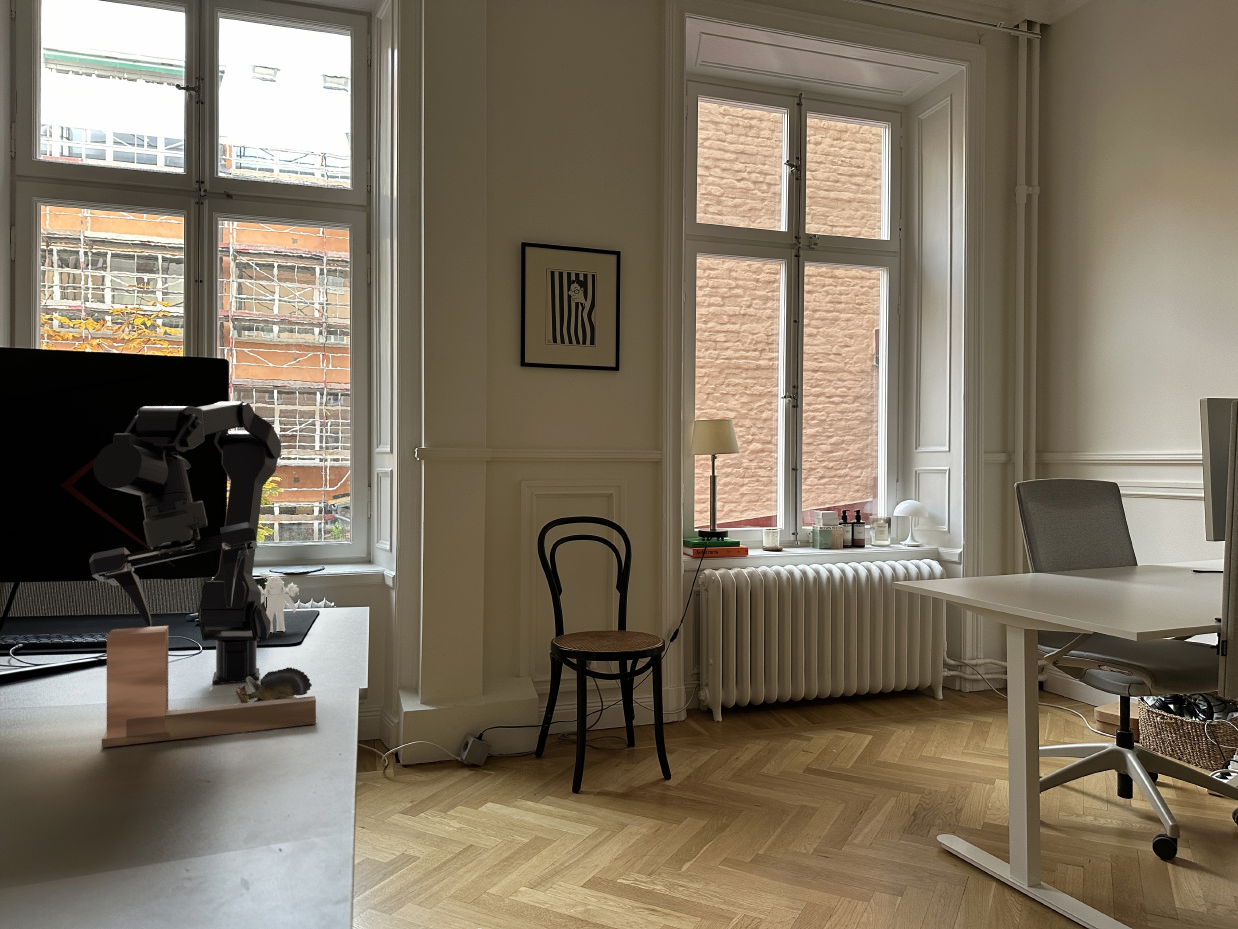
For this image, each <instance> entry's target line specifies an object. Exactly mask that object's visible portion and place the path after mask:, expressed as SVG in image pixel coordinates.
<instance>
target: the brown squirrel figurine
mask: <svg viewBox="0 0 1238 929" xmlns="http://www.w3.org/2000/svg"><path fill="white" fill-rule="evenodd" d="M310 681H311V679H310V678H309V677H308V675H307V674H306V673H305V672H304V671H302V670H300V669H298V668H295V667H293V668H292V667H286V668H282V669H277V670H275V671H274V670H272V671H268V672H267V673H265V674H264V675H263V676H262V678H261V679H260V681H259V683H258V682H257V680H254V679H253V678H252V677H247V678H246V681H245V682H247V684H248V687H249V688H250V689H251V690H252V691H253V692H251V693H248V691H247V687H246V685H245V684H244V685H241V687H240V686H238V687H237V688H238V689H235V693H236V694H235V695H236V696H237V698H238V700H239V702H240V703H249V701H250V700H254V699H255V700H254V701H253V702H260V701H270V700H280V699H290V698H298V697H297V696H305V695H307V694H308V691H310V690H311V688H312V686H313V685H312V683H311V682H310Z"/></svg>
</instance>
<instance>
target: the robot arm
mask: <svg viewBox="0 0 1238 929" xmlns="http://www.w3.org/2000/svg"><path fill="white" fill-rule="evenodd" d="M236 428H237V429H238V428H240V429H241V428H243V430H237V429H236ZM234 429H235V430H234ZM229 430H230V431H229ZM228 431H229V432H228ZM227 432H228V433H227ZM213 434H215V437H214V440H213V443H214V445H215V447H216V448H217V449H218V451H219V453H220V455H221V465H222V467H223V470H224V471H225V473H226V476H227V477H228V479H229V489H228V490H229V491H228V498H227V503H226V513H225V519H224V520H225V521H224V526H222V527H220V528H219V530H220V534H218V535H212V536H208V537H203V538H201V536H200V535H201V534H200V533H199V532H200V530H199V529H202V528H206V527H208V518H207V514H206V510H205V505H204V501H203V500H198V501H194V502H193V495H192V491H191V487H190V482H189V476H188V472H187V470H189V469H191V467H192V466H191V464H190V463H189V460H187V459H185V458H183V457H182V456H181V455H180V453H185V452H186V451H188V450H193V449H194V448H196V447H198V446H200V445H201V444H203V443H204V442H205V436H209V435H213ZM281 453H282V443H281V440H280V437H279V436H278V434H277V431H276V430H275V428H274V426H273V425H272V424H271V423H270V422H269V421H267V420H266V419H264V418H263V417H261V416H260V415H258V414H257V413H255V410H254V409H253V407H252V406H251V404H250V403H248V402H245V401H218V402H215V403H213V404H208V405H202V406H197V407H196V406H192V405H191V406H190V405H189V406H188V405H187V406H184V405H182V406H180V405H178V406H176V405H175V406H174V405H173V406H172V405H169V406H167V405H163V406H161V405H160V406H159V405H157V406H156V405H154V406H153V405H152V406H151V405H149V406H147V405H145V406H141V407H140V408H139V409H138V410H137V415H135V416H134V417H133V419H132V420H131V422H130V424H129V425H128V426H127V428H125V431H124V432H123V433H114V434H113V441H112V443H110V444H108V445H105V446H104V447H103V448H102V449H101V450H100V452H99V453H98V454H97V456H96V458H95V459H94V460H93V465H92V468H93V469H92V470H93V474H94V477H95V479H96V481H97V482H98V483H99V484H101V485H102V486H104V487H106V488H108V489H112V490H117V491H120V492H125V493H128V494H133V495H136V496H140V497H141V503H142V508H143V514H144V520H143V522H142V523H143V524H142V525H143V531H144V536H145V541H146V546H147V547H148V548H150V549H145V550H141V551H136V552H132V553H131V552H130V551H129V550H128V549H127V548H126V547H125V546H123V547H119V548H115V549H108V550H105V551H99V552H95V553H93V554H92V555H91V557H90V558H89V561H88V563H89V568H90V574H91V577H93V578H94V579H96V580H97V581H99V582H107V583H109V584H110V585H111V586H114V587H115V586H120V587H121V588H122V589H123V591H124V592H125V593H126V594H127V595H128V597H129V598H130V600H131V601H132V603H133V604H134V607H135V608H136V609H137V612H138V613H139V615H140V616H141V618H142V620H143V621H144V623H145V625H146V627H153V625H152V624H153V623H152V616H151V613H150V609H149V606H148V604H147V600H146V597H145V593H144V591H143V590H144V589H143V587H142V585H141V581H140V578H139V576H138V575H137V574H136V573H134V571H135V568H140V567H143V566H148V565H153V564H158V563H163V562H167V561H171V560H176V559H181V558H185V557H190V556H195V555H199V554H204V553H209V552H215V551H219V550H220V558H219V565H218V566H219V568H218V571H217V573H216V574H215V576H214V577H213V578H212V580H209V581H208V580H207V581H206V580H205V582H204V584H203V585H202V588H201V598H200V603H199V606H198V610H197V619H198V624H199V628H200V629H199V630H200V634H201V638H202V642H208V641H215V642H216V643H215V647H216V648H215V656H216V657H215V658H216V659H215V660H216V661H215V663H216V664H215V671H214V672H213V676H212V681H211V682H212V685H213V684H215V685H217V684H228V683H238V682H240V683H241V682H247V681H246V678H247V677H252V678H253V679H254V680H255V681H257V680H258V681H259V680H260V667H257V642H258V641H260V640H266V639H269V635H270V634H271V633H270V626H271V621H270V619H269V618H268V616H267V614H266V610H265V608H264V606H263V603H262V604H261V591H260V589H259V587H258V586H259V585H258V584H257V581H256V580H255V578H254V577H253V571H254V563H255V562H254V561H255V554H256V549H258V541H257V540H258V539H257V537H258V529H259V522H260V512H261V506H262V505H261V504H262V497H263V490H264V486H265V485H266V483H267V482H268V481H269V480H270V479H271V477H272V476H273V475H274V474H275V472H276V470H277V465H278V461H279V458H280V456H281V455H282V454H281ZM189 547H191V548H189ZM192 547H193V548H192Z"/></svg>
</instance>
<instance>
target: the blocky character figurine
mask: <svg viewBox="0 0 1238 929" xmlns="http://www.w3.org/2000/svg"><path fill="white" fill-rule="evenodd" d="M259 577H261V579H262V578H263V579H264V580H265V581H266V582H264V584H265V588H264V589H263V588H262V586H260V585H257V586H258V587H259V589H260V591H261V604H262V605H263V603H264V607H265V608H266V597H267V608H266V610H265V612H266V614H267V616H268V618H269V619H270V621H271V626H270V632H272V633H274V627H273V626H274V625H273V620H274V616H275V618H276V631H283V632H286V628H285V614H284V612H285V610H284V608H285V606H286V603H287V605H288V608H289V609H290V610H292V612H293V613H296V611H297V607H296V605H295V602H294V601H293V599H292V598H291V597H295V596H296V595H298V596H299V594H300V592H299V591H300V588H299V587H298V584H295V583H294V582H293V581H292V582H291V583H290V584H288V585H287V587H284V586H285V585H284V584H285V582H284V581H283V579H282V578H281V577H280V576H270V573H267V574H266V573H263V572H260V573H259ZM265 578H266V579H267V580H266V579H265Z"/></svg>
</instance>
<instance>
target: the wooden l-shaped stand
mask: <svg viewBox="0 0 1238 929" xmlns="http://www.w3.org/2000/svg"><path fill="white" fill-rule="evenodd" d="M316 699H317V698H316V696H315V695H313V696H304V697H303V696H301V697H297V698H290V699H280V700H270V701H260V702H254V701H252V702H248V703H241V702H240V703H234V704H232V703H231V704H225V705H224V704H223V705H222V704H221V705H212V706H211V705H210V706H203V707H193V708H192V707H191V708H183V709H181V708H180V709H170V710H169V625H163V626H162V625H161V626H160V625H159V626H151V627H148V626H146V627H145V626H144V627H130V628H127V627H126V628H113V629H111V630H110V631H109V632H108V634H107V635H106V731H105V733H104V734H103V736H102V738H101V748H110V747H112V748H113V747H118V746H119V747H120V746H128V745H139V744H145V743H146V744H147V743H155V742H162V741H163V742H164V741H172V740H173V741H174V740H182V739H188V738H189V739H190V738H191V739H192V738H199V737H208V736H217V735H225V734H232V733H233V734H234V733H244V732H253V731H263V730H270V729H279V728H288V727H296V726H305V725H313V724H314V725H315V724H317V700H316Z"/></svg>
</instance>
